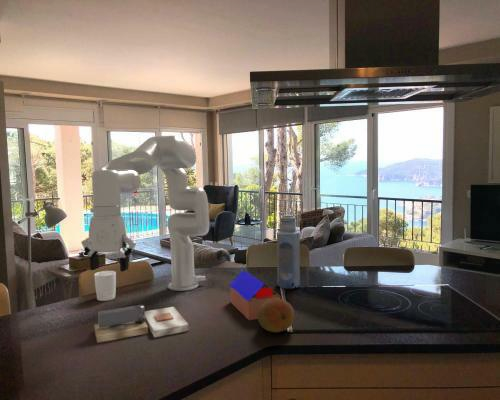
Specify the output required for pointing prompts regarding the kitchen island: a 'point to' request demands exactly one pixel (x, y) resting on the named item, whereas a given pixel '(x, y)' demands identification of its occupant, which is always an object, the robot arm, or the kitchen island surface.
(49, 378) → the kitchen island surface
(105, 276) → the white cup
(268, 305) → the fruit
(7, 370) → the kitchen island surface
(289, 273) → the bottle
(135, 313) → the bar
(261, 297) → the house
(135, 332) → the door and jamb
